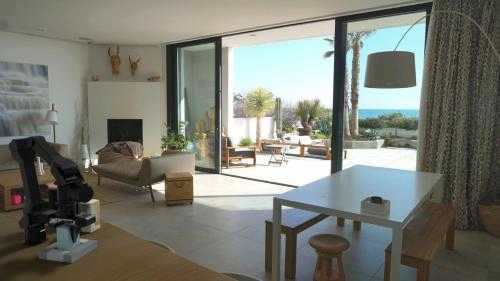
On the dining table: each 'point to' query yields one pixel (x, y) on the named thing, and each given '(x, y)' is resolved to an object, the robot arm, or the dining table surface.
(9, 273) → the dining table surface
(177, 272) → the dining table surface
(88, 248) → the socket block
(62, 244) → the plug
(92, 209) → the skincare box
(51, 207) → the coffee jar
